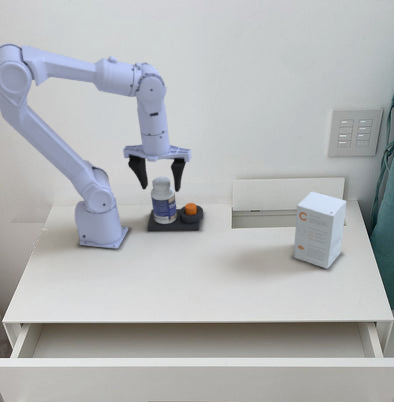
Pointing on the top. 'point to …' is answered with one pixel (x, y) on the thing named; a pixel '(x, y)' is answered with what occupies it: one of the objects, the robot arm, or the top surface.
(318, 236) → the small box
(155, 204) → the pill bottle
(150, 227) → the scale
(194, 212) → the button
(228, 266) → the top surface
